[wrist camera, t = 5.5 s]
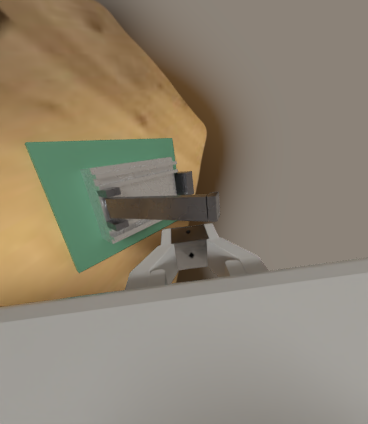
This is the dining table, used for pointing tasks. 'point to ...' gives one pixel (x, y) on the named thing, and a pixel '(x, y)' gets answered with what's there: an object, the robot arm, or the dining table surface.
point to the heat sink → (132, 191)
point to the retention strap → (166, 207)
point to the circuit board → (77, 194)
